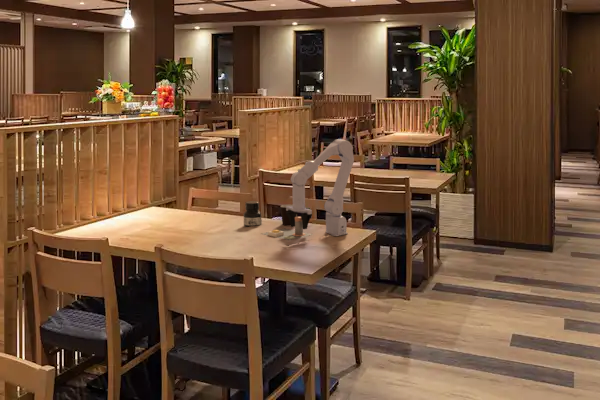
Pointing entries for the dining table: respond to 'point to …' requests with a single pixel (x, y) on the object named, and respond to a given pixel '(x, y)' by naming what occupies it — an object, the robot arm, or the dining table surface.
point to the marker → (298, 226)
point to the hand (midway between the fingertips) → (299, 227)
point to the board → (286, 234)
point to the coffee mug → (285, 215)
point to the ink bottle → (252, 214)
